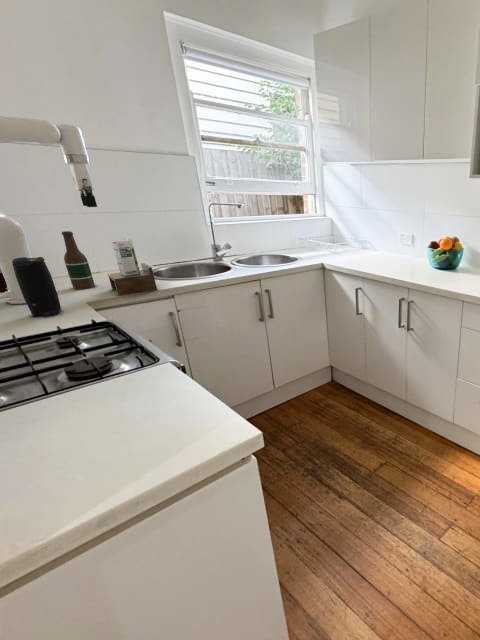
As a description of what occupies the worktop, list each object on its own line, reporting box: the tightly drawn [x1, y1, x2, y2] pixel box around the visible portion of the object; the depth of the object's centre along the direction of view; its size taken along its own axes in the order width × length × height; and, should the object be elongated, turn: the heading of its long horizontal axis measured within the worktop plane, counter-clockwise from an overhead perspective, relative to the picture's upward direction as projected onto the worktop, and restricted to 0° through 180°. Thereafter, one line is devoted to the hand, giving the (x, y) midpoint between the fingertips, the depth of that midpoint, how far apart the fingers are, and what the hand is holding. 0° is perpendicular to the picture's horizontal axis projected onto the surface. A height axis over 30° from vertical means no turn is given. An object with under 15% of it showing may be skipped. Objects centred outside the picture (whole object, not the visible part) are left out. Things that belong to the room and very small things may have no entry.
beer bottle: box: [61, 230, 96, 290], centre depth 164 cm, size 8×8×24 cm
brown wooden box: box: [107, 262, 158, 296], centre depth 165 cm, size 14×13×10 cm
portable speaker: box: [12, 256, 62, 318], centre depth 131 cm, size 9×9×20 cm
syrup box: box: [111, 238, 141, 276], centre depth 162 cm, size 6×6×14 cm
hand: (90, 206), depth 156 cm, fingers open, 9 cm apart
